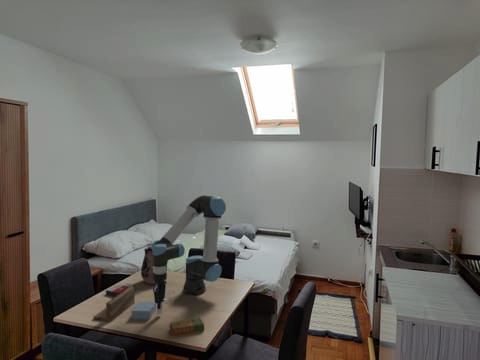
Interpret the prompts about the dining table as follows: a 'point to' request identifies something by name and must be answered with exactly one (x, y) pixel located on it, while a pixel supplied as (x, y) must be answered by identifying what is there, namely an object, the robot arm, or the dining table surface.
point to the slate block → (144, 310)
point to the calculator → (118, 289)
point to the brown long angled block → (117, 305)
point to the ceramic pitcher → (148, 266)
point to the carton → (186, 326)
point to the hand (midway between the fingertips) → (159, 313)
